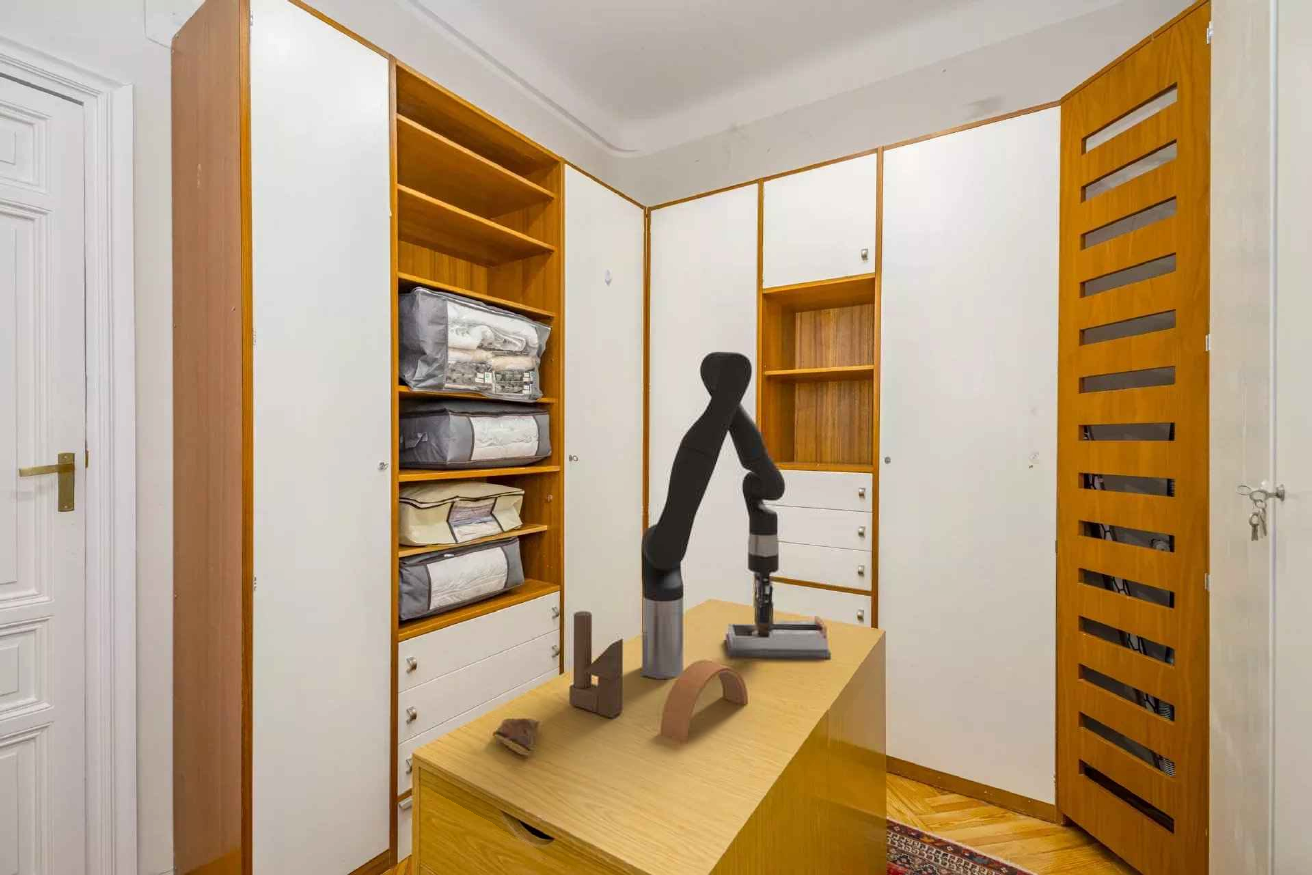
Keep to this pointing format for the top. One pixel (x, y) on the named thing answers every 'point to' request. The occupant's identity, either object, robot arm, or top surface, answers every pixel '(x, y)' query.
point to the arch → (697, 695)
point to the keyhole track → (780, 640)
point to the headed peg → (761, 626)
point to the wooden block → (595, 671)
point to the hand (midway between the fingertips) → (763, 619)
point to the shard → (517, 734)
